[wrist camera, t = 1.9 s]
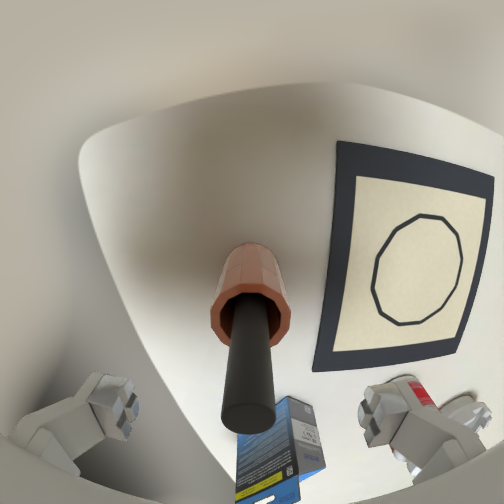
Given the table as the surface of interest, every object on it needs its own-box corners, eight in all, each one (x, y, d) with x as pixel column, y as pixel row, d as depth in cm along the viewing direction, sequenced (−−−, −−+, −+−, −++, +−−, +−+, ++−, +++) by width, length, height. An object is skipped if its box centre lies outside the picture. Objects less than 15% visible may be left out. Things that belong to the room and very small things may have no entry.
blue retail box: (262, 444, 27) (265, 529, 15) (236, 434, 27) (230, 524, 15) (314, 406, 25) (335, 503, 13) (286, 393, 25) (300, 500, 13)
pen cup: (225, 242, 21) (209, 281, 13) (278, 243, 21) (293, 284, 13) (225, 291, 22) (211, 350, 14) (275, 293, 22) (286, 352, 14)
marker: (240, 259, 21) (219, 402, 7) (263, 260, 21) (279, 403, 7) (239, 280, 21) (221, 434, 7) (262, 281, 21) (274, 435, 7)
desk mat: (336, 141, 19) (339, 140, 18) (492, 176, 19) (495, 177, 18) (311, 369, 24) (312, 373, 23) (453, 351, 24) (456, 353, 23)
